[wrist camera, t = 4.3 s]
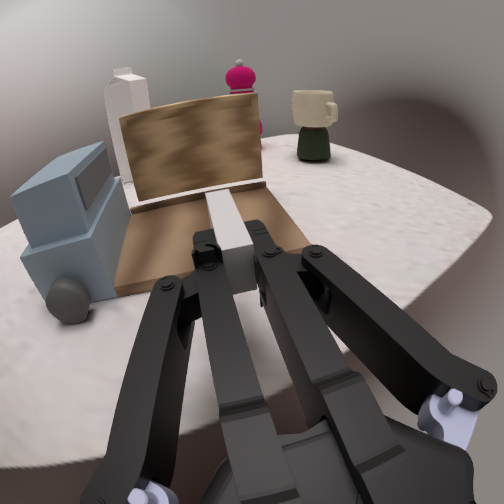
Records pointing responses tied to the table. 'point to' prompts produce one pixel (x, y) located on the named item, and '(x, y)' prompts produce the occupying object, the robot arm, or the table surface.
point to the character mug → (314, 122)
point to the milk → (124, 110)
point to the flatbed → (191, 234)
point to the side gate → (193, 144)
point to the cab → (73, 230)
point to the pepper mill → (241, 81)
